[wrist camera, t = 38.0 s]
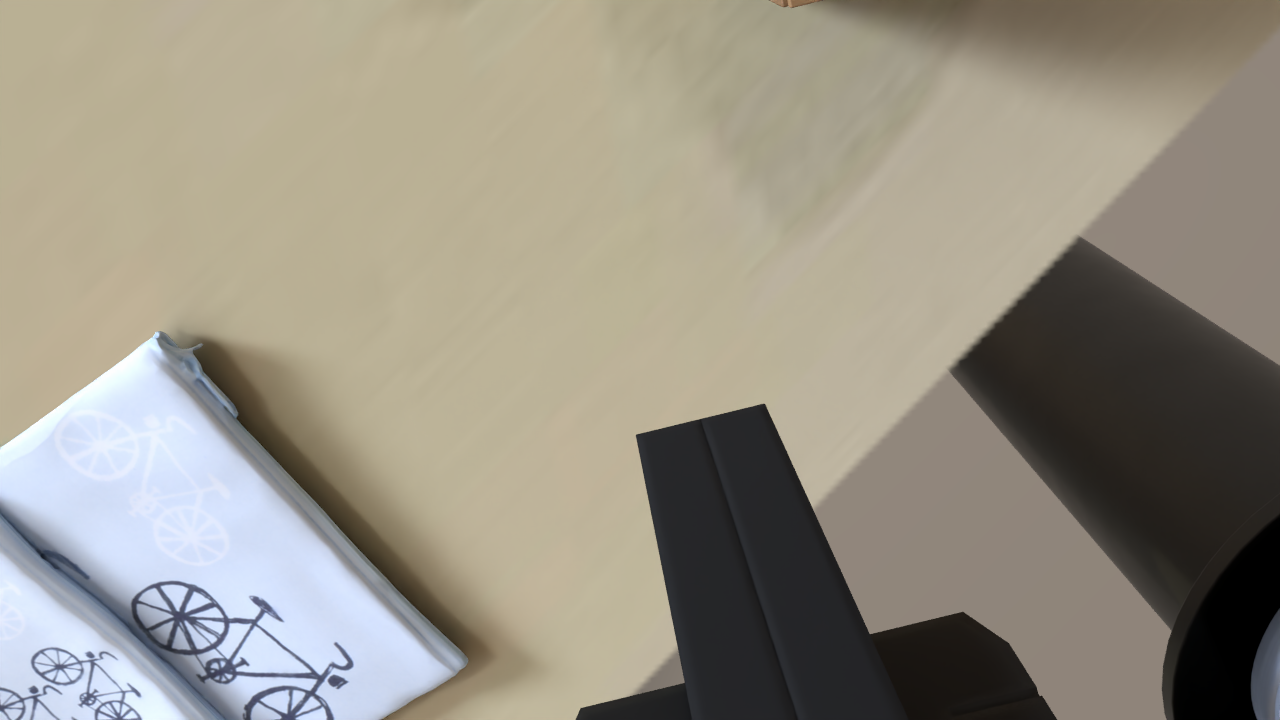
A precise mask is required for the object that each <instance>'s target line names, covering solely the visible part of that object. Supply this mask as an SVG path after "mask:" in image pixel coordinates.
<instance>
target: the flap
mask: <svg viewBox="0 0 1280 720" xmlns="http://www.w3.org/2000/svg"><path fill="white" fill-rule="evenodd" d="M818 1H822V0H788V6H789V7H791V8H793V7H798V6H802V5H806V4H810V3H814V2H818Z"/></svg>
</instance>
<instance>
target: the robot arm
mask: <svg viewBox="0 0 1280 720" xmlns="http://www.w3.org/2000/svg"><path fill="white" fill-rule="evenodd" d="M636 438H637V443H638V448H639V453H640V459H641V464H642V469H643V474H644V479H645V484H646V489H647V494H648V499H649V504H650V509H651V514H652V519H653V524H654V529H655V534H656V539H657V544H658V549H659V554H660V560H661V565H662V570H663V575H664V580H665V585H666V590H667V595H668V600H669V605H670V610H671V615H672V620H673V625H674V630H675V635H676V640H677V645H678V650H679V655H680V660H681V666H682V670H683V676H684V680H685V683H683V684H679V685H675V686H671V687H666V688H663V689H658V690H654V691H650V692H646V693H642V694H637V695H633V696H629V697H625V698H621V699H617V700H613V701H609V702H604V703H600V704H596V705H592V706H588V707H584V708H581V709H580V711H579V713H578V716H577V718H576V720H1057V719H1056V717H1055V716H1054V714H1053V712H1052V711H1051V709H1050V708H1049V706H1048V705H1047V703H1046V701H1045V700H1044V698H1043V697H1042V696H1039V694H1038V691H1037V687H1036V685H1035V684H1034V682H1033V681H1032V679H1031V678H1030V676H1029V674H1028V673H1027V672H1026V670H1025V668H1024V666H1023V665H1022V663H1021V662H1020V660H1019V659H1018V657H1017V655H1016V654H1015V652H1014V651H1013V649H1012V648H1011V646H1010V644H1009V643H1008V642H1006V641H1005V640H1003V639H1002V638H1000V637H999V636H997V635H996V634H995V633H993V632H992V631H990V630H989V629H987V628H986V627H984V626H983V625H981V624H980V623H978V622H977V621H976V620H974V619H973V618H971V617H970V616H968V615H967V614H965V613H964V612H961V613H957V614H952V615H948V616H944V617H940V618H936V619H932V620H928V621H923V622H919V623H915V624H911V625H907V626H903V627H899V628H894V629H890V630H886V631H882V632H878V633H874V634H869V632H868V629H867V627H866V625H865V623H864V621H863V618H862V616H861V614H860V612H859V610H858V608H857V605H856V603H855V601H854V599H853V597H852V594H851V592H850V590H849V588H848V586H847V584H846V581H845V579H844V577H843V574H842V572H841V570H840V568H839V566H838V564H837V561H836V559H835V557H834V555H833V552H832V550H831V548H830V546H829V544H828V541H827V539H826V537H825V535H824V533H823V530H822V528H821V526H820V524H819V522H818V520H817V517H816V515H815V513H814V511H813V509H812V506H811V504H810V502H809V500H808V498H807V495H806V493H805V491H804V489H803V487H802V484H801V482H800V480H799V478H798V476H797V473H796V471H795V469H794V467H793V465H792V462H791V460H790V458H789V456H788V454H787V451H786V449H785V447H784V445H783V443H782V440H781V438H780V436H779V434H778V432H777V429H776V427H775V425H774V423H773V421H772V418H771V416H770V414H769V412H768V410H767V407H766V405H765V404H761V405H757V406H753V407H749V408H744V409H740V410H736V411H732V412H728V413H724V414H720V415H716V416H711V417H707V418H703V419H699V420H695V421H691V422H687V423H683V424H678V425H674V426H670V427H666V428H662V429H658V430H654V431H650V432H646V433H641V434H637V435H636ZM1251 699H1252V704H1253V709H1254V712H1255V715H1256V718H1257V720H1280V608H1279V609H1278V611H1277V612H1276V614H1275V615H1274V617H1273V619H1272V620H1271V622H1270V623H1269V625H1268V627H1267V629H1266V631H1265V633H1264V635H1263V637H1262V639H1261V642H1260V644H1259V646H1258V649H1257V652H1256V656H1255V659H1254V663H1253V668H1252V673H1251Z"/></svg>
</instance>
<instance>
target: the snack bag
mask: <svg viewBox="0 0 1280 720" xmlns="http://www.w3.org/2000/svg"><path fill="white" fill-rule="evenodd" d="M202 345H203V344H201V343H200V344H198V345H196V346H195V347H191V348H186V349H180V348H179V347H178V346H177V345H176V344H175V342H174V341H173V340H172V339H171V338H170V337H169V336H168V335H167V334H166V333H164V332H161V331H159V332H156V333H155V335H154V337H152V338H151V339H150V340H148V341H147V342H145V343H143V344H142V345H141V346H140V347H138V348H137V349H136V350H135V351H134V352H133V353H131V354H130V355H129V356H128V357H126V358H125V359H124V360H122V361H121V362H120V363H118V364H117V365H115V366H114V367H113V368H111V369H110V370H109V371H107V372H106V373H104V374H103V375H102V376H100V377H99V378H98V379H96V380H95V381H93V382H92V383H90V384H89V385H88V386H86V387H85V388H83V389H82V390H80V391H79V392H77V393H76V394H75V395H73V396H72V397H71V398H69V399H68V400H67V401H65V402H64V403H63V404H61V405H60V406H59V407H58V408H56V409H55V410H53V411H52V412H51V413H49V414H48V415H46V416H45V417H43V418H42V419H41V420H39V421H38V422H37V423H35V424H34V425H33V426H31V427H30V428H29V429H27V430H26V431H24V432H23V433H21V434H20V435H18V436H17V437H16V438H14V439H13V440H12V441H10V442H9V443H7V444H6V445H4V446H2V447H1V448H0V720H381V719H383V718H385V717H386V716H388V715H390V714H391V713H393V712H395V711H397V710H398V709H400V708H402V707H403V706H405V705H406V704H408V703H409V702H411V701H412V700H414V699H415V698H417V697H419V696H421V695H423V694H425V693H427V692H429V691H431V690H433V689H435V688H436V687H438V686H439V685H441V684H442V683H444V682H446V681H447V680H449V679H450V678H452V677H453V676H455V675H457V673H458V672H459V671H460V670H461V669H463V668H465V666H466V665H467V663H468V659H467V657H466V655H465V654H464V653H463V652H462V651H461V650H460V649H459V648H458V647H457V646H455V645H454V644H453V643H452V642H451V641H450V640H449V639H448V638H447V637H446V636H445V635H443V634H442V633H441V632H440V631H439V630H438V629H437V628H436V627H435V626H434V625H433V624H432V623H431V622H430V621H429V620H428V619H427V618H426V617H424V616H423V615H422V614H421V613H420V612H419V611H418V610H417V609H416V608H415V607H414V606H413V605H412V604H411V603H410V602H409V601H408V600H407V599H406V598H405V597H404V596H403V595H402V594H401V593H400V592H399V591H398V590H397V589H396V588H395V587H394V586H393V585H392V584H391V583H390V582H389V580H388V579H387V578H386V577H385V576H384V575H383V574H382V573H381V572H380V571H379V570H378V569H377V568H376V567H375V566H374V565H373V564H372V563H371V562H370V561H369V560H368V559H367V558H366V557H365V556H364V555H363V554H362V552H361V551H360V550H359V549H358V548H357V547H356V546H355V545H354V544H353V543H352V542H351V541H350V540H349V538H348V537H347V536H346V535H345V534H344V533H343V532H342V531H341V530H340V529H339V528H338V526H337V525H336V524H335V523H334V522H333V521H332V520H331V519H330V517H329V516H328V515H327V514H326V513H325V512H324V511H323V509H322V508H321V507H320V506H319V505H318V504H317V503H316V502H315V501H314V500H313V499H312V498H311V497H310V496H309V495H308V494H307V493H306V492H305V491H304V490H303V489H302V488H301V487H300V486H299V485H298V484H297V482H296V481H295V480H294V479H293V478H292V477H291V476H290V475H289V474H288V473H287V472H286V471H285V470H284V469H283V468H282V467H281V466H280V464H279V463H278V462H277V461H276V460H275V459H274V458H273V457H272V456H271V455H270V454H269V453H268V452H267V451H266V450H265V449H264V448H263V446H262V445H261V444H260V443H259V442H258V441H257V440H256V439H255V438H254V437H253V436H252V435H251V434H250V433H249V432H248V431H247V430H246V429H245V428H244V427H243V426H242V425H241V424H240V422H239V421H238V420H237V419H236V417H237V416H238V415H239V414H238V412H237V410H236V407H235V405H234V404H233V403H232V402H231V401H230V400H229V398H228V397H227V396H226V395H225V394H224V393H223V392H222V391H221V390H220V389H219V388H218V387H217V386H216V385H215V384H214V383H213V382H212V381H211V379H210V378H209V377H208V376H207V375H206V374H205V373H204V372H203V371H202V367H201V364H200V363H199V361H198V360H197V358H196V357H195V356H194V354H193V350H197V349H199V348H201V347H202ZM226 407H227V408H228V409H227V408H226Z"/></svg>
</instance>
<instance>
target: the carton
mask: <svg viewBox="0 0 1280 720" xmlns="http://www.w3.org/2000/svg"><path fill="white" fill-rule="evenodd" d="M770 1H772V2H773V3H775V4H777V5H779V6H781V7H787V6H788V0H770Z"/></svg>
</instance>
